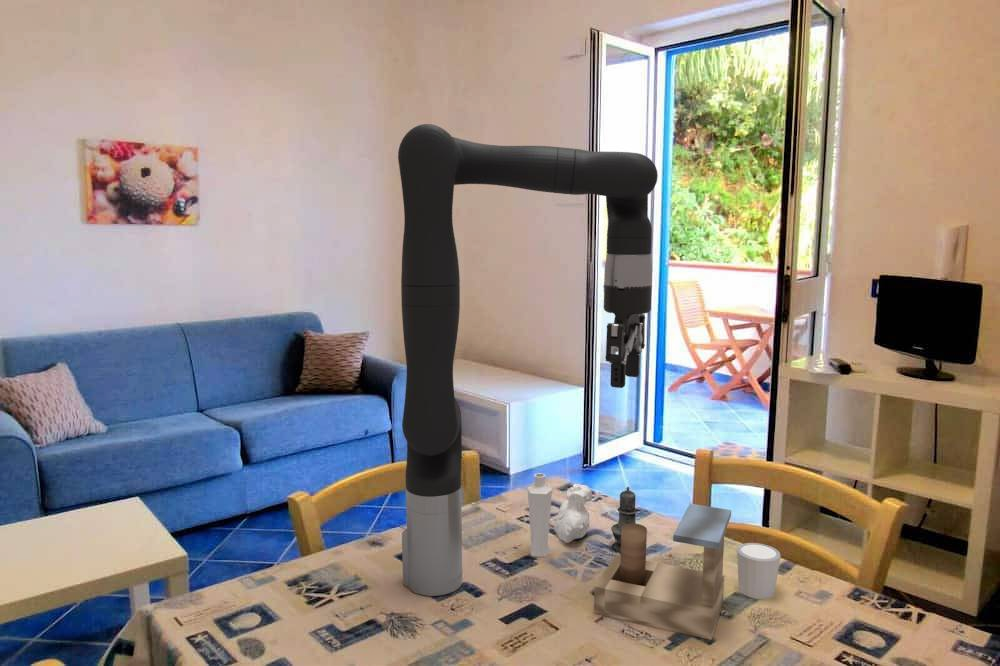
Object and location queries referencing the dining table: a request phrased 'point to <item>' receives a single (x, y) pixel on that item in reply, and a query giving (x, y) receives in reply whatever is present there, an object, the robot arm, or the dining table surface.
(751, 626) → the dining table surface
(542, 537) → the perfume bottle
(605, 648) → the dining table surface
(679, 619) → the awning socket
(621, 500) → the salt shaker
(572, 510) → the bust
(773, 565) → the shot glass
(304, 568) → the dining table surface
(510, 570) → the dining table surface
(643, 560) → the peg
